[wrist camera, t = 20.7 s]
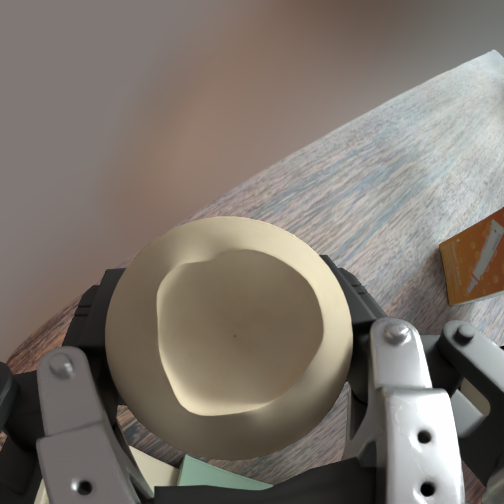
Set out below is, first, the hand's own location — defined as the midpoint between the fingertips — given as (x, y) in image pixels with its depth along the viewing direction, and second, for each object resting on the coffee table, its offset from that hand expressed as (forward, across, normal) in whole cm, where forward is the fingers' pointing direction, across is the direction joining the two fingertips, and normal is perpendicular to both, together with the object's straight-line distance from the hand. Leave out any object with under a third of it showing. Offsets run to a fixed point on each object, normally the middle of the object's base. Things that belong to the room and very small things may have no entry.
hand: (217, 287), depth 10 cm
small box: (+15, -31, +12) cm, 36 cm away
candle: (+3, 0, +5) cm, 6 cm away
